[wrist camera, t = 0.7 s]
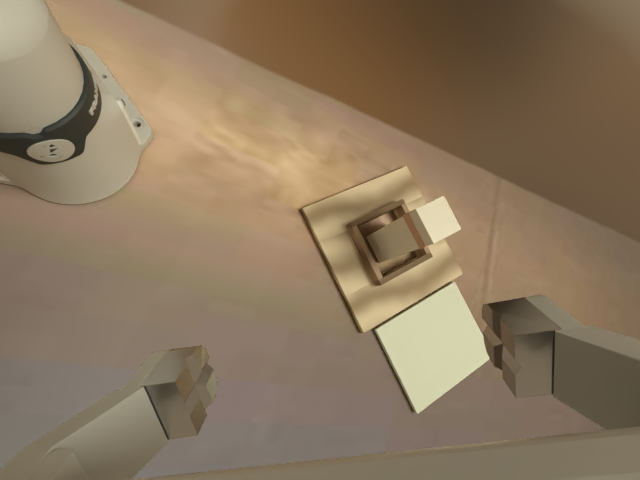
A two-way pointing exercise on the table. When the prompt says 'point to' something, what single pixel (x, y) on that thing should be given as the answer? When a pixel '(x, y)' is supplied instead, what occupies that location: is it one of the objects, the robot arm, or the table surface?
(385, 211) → the wooden square socket board
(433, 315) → the pad
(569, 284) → the table surface
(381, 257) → the banded cream pillar
